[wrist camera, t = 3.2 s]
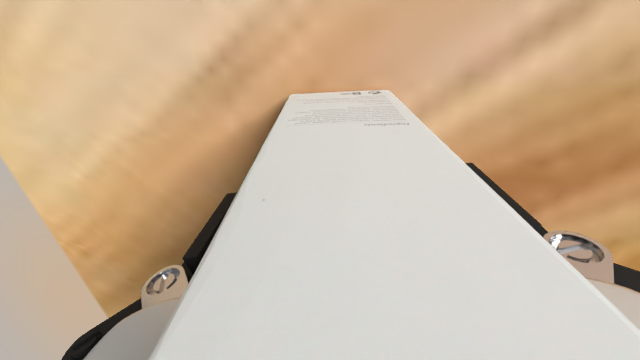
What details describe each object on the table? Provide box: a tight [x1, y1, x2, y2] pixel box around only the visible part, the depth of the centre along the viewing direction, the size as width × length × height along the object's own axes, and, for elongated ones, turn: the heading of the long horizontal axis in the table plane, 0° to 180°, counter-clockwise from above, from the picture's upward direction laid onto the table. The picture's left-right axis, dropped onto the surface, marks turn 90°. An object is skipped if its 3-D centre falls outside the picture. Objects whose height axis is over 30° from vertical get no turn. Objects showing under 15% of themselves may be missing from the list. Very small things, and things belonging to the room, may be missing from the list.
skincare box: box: [148, 90, 640, 360], centre depth 9 cm, size 8×6×15 cm
